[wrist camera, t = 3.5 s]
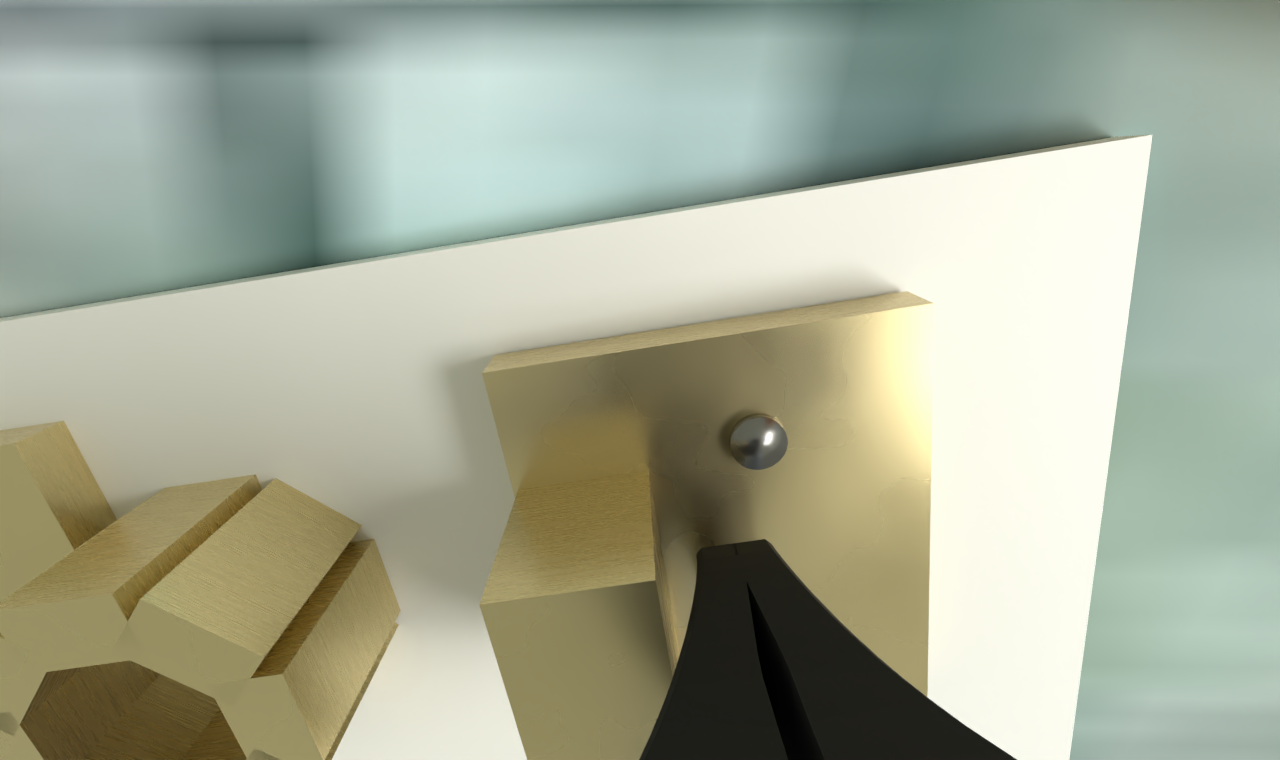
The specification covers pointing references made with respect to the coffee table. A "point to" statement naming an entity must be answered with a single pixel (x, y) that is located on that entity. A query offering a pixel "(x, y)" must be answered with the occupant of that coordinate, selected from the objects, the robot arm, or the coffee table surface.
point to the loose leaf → (703, 500)
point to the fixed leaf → (178, 616)
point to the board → (626, 304)
